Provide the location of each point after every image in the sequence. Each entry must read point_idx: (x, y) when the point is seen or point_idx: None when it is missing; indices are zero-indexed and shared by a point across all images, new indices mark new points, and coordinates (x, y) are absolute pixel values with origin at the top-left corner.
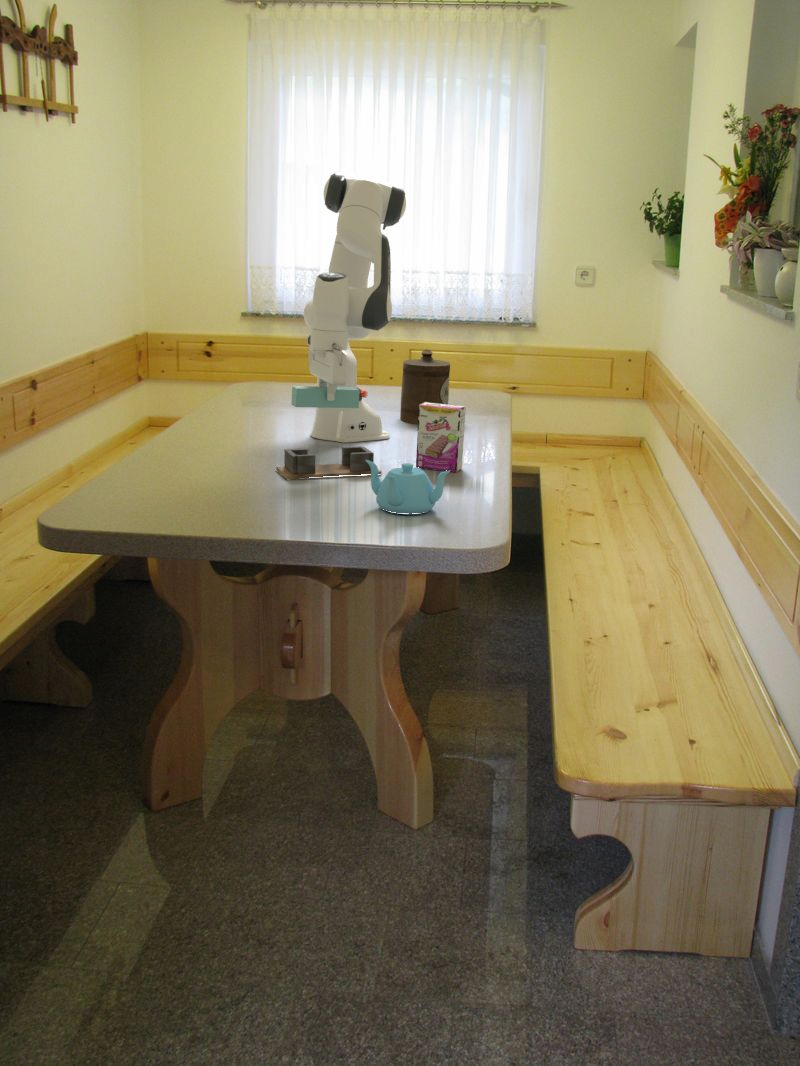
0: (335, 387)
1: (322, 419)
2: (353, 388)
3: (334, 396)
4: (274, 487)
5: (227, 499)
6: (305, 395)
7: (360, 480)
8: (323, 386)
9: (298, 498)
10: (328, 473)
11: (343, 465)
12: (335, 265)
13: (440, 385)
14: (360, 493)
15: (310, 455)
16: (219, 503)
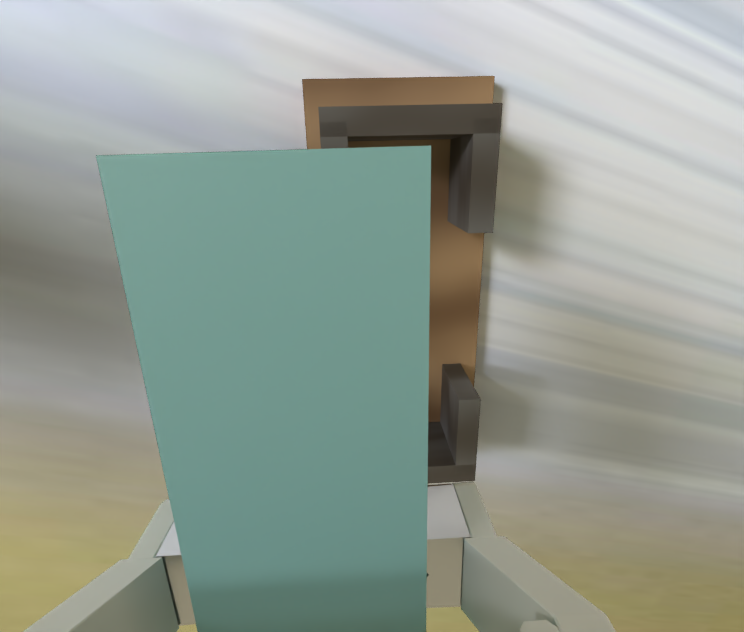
0: (598, 625)
1: None
2: (256, 225)
3: (483, 506)
4: (541, 490)
5: (617, 599)
6: None
7: (541, 203)
8: (133, 628)
9: (683, 453)
10: (469, 317)
11: None
12: None
13: None
14: (716, 260)
15: (475, 418)
16: (644, 615)
